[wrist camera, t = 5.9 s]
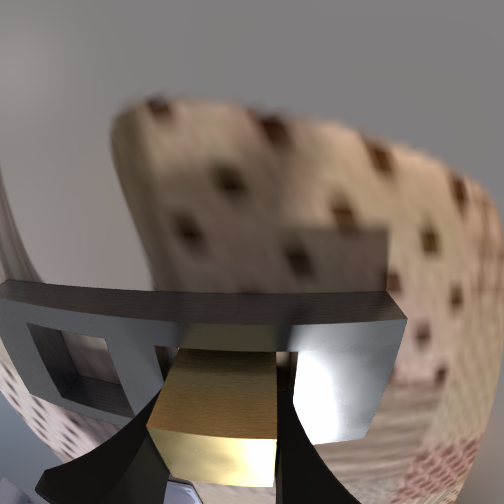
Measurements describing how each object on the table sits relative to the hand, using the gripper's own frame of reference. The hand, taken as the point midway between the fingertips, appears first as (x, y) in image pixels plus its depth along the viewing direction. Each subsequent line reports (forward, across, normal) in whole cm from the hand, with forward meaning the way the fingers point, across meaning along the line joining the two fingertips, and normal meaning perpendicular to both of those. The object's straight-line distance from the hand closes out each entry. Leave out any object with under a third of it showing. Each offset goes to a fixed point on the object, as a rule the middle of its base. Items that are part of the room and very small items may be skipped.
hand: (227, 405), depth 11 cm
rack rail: (+3, +4, 0) cm, 5 cm away
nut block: (+3, 0, 0) cm, 3 cm away
